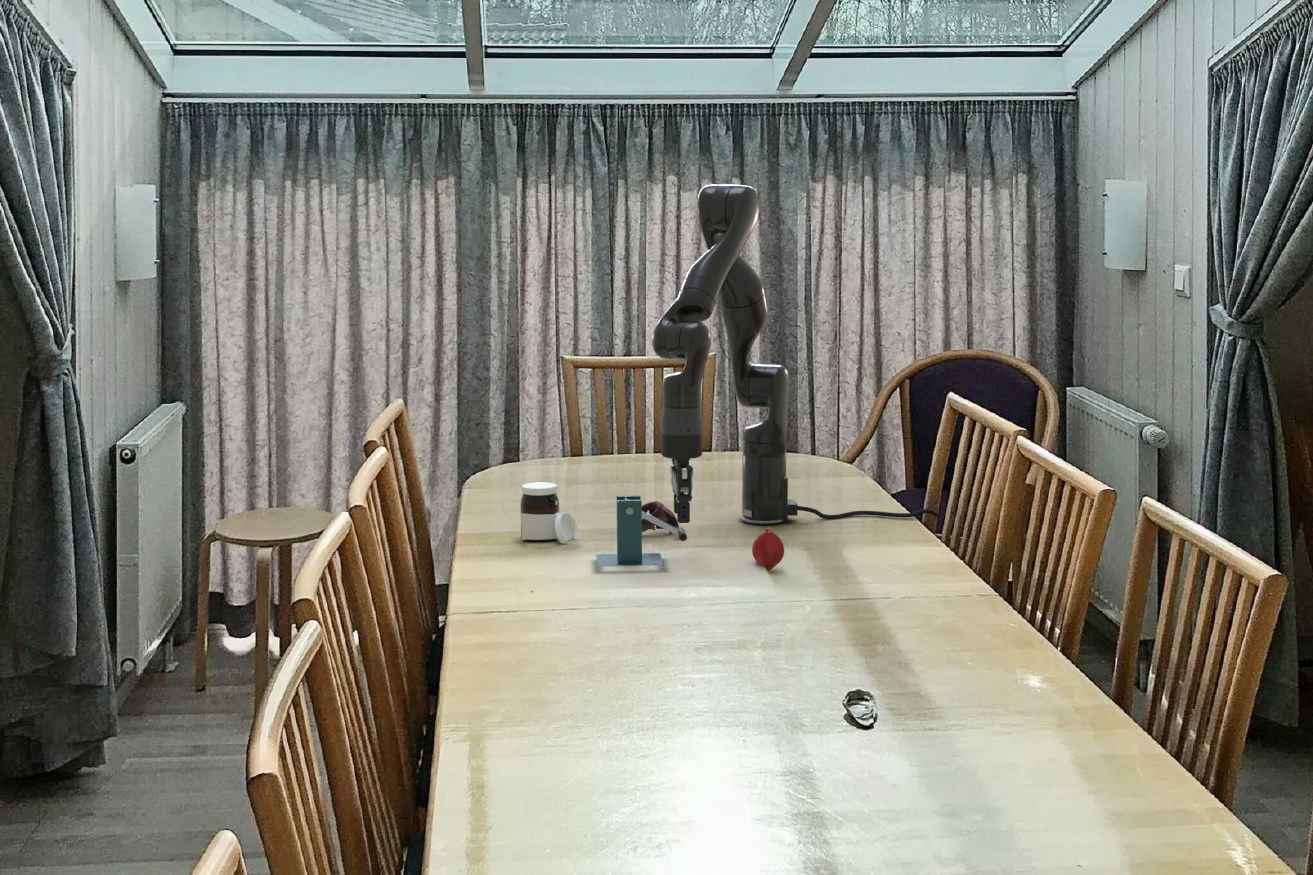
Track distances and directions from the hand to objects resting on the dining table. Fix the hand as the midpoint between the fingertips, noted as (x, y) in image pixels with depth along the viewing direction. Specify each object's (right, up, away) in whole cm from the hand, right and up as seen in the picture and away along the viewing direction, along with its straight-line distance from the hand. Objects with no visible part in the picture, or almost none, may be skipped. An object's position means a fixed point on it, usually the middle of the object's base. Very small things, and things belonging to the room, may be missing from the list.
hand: (681, 518), depth 254 cm
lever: (-6, -1, 0) cm, 6 cm away
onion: (+16, -10, -3) cm, 19 cm away
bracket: (-10, -9, +1) cm, 13 cm away
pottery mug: (-5, -5, +25) cm, 26 cm away
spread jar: (-26, -6, +19) cm, 33 cm away
